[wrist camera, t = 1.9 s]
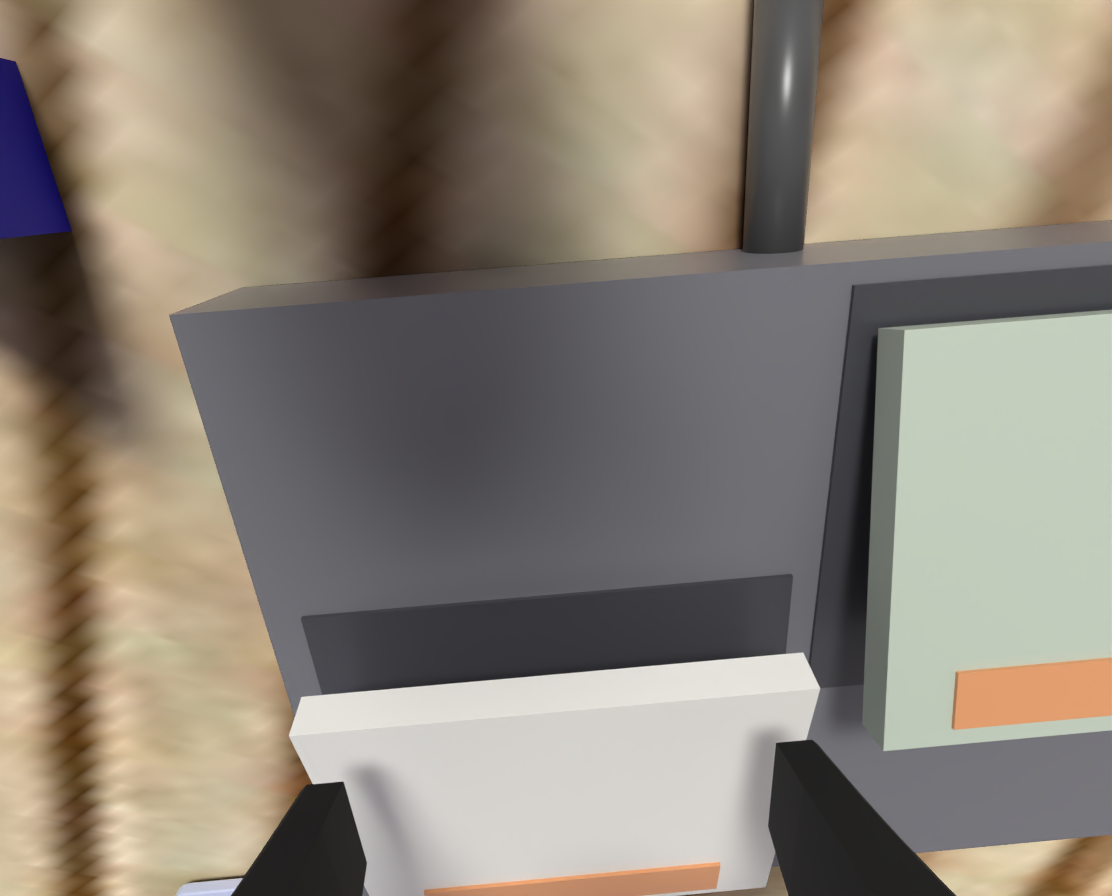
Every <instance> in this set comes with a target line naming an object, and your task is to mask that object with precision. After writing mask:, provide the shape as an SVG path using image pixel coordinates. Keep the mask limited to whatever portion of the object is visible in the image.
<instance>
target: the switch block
mask: <svg viewBox="0 0 1112 896" xmlns="http://www.w3.org/2000/svg"><path fill="white" fill-rule="evenodd" d="M823 10H824V0H754V20H753V41H752V63H751V84H750V106H749V127H748V148H747V170H746V191H745V213H744V234H743V249H734V250H721V251H708V252H695V253H682V254H669V255H657V256H644V257H631V258H618V259H605V260H592V261H579V262H566V263H553V264H540V265H528V266H515V267H502V268H489V269H476V270H463V271H450V272H437V273H424V274H411V275H399V276H386V277H373V278H360V279H347V280H334V281H321V282H308V283H295V284H282V285H270V286H257V287H244V288H240V289H237V290H234V291H232V292H229V293H226V294H224V295H221V296H218V297H216V298H213V299H210V300H208V301H205V302H202V303H200V304H197V305H194V306H192V307H189V308H186V309H184V310H181V311H178V312H176V313H173V314H170V315H169V317H170V320H171V323H172V326H173V329H174V333H175V336H176V339H177V342H178V345H179V349H180V352H181V355H182V358H183V361H184V365H185V368H186V371H187V374H188V377H189V381H190V384H191V387H192V390H193V393H194V397H195V400H196V403H197V406H198V409H199V413H200V416H201V419H202V422H203V425H204V429H205V432H206V435H207V438H208V441H209V445H210V448H211V451H212V454H213V457H214V461H215V464H216V467H217V470H218V473H219V477H220V480H221V483H222V486H223V489H224V493H225V496H226V499H227V502H228V505H229V509H230V512H231V515H232V518H233V521H234V525H235V528H236V531H237V534H238V537H239V541H240V544H241V547H242V550H243V553H244V557H245V560H246V563H247V566H248V569H249V573H250V576H251V579H252V582H253V585H254V589H255V592H256V595H257V598H258V601H259V605H260V608H261V611H262V614H263V617H264V621H265V624H266V627H267V630H268V633H269V637H270V640H271V643H272V646H273V649H274V653H275V656H276V659H277V662H278V665H279V669H280V672H281V675H282V678H283V681H284V685H285V688H286V691H287V694H288V697H289V701H290V704H291V707H292V710H293V713H294V717H295V715H296V712H297V709H298V706H299V703H300V700H301V697H306V696H317V695H329V694H340V693H351V692H362V691H374V690H385V689H396V688H407V687H419V686H430V685H441V684H453V683H464V682H475V681H486V680H498V679H509V678H520V677H532V676H543V675H554V674H565V673H577V672H588V671H599V670H611V669H622V668H633V667H644V666H656V665H667V664H678V663H690V662H701V661H712V660H723V659H735V658H746V657H757V656H768V655H780V654H791V653H802V652H803V653H804V655H805V657H806V659H807V662H808V664H809V666H810V668H811V670H812V672H813V674H814V676H815V678H816V680H817V683H818V685H819V687H820V692H819V695H818V699H817V702H816V706H815V710H814V713H813V717H812V721H811V724H810V728H809V732H808V735H807V739H806V740H813V741H815V742H816V743H817V744H818V745H819V746H820V747H821V748H822V750H823V751H824V752H825V753H826V754H827V755H828V757H829V758H830V759H831V760H832V761H833V762H834V764H835V765H836V766H837V767H838V768H839V769H840V771H841V772H842V773H843V774H844V775H845V776H846V778H847V779H848V780H849V781H850V782H851V783H852V784H853V786H854V787H855V788H856V789H857V790H858V791H859V792H860V794H861V795H862V796H863V797H864V798H865V799H866V800H867V801H868V803H869V804H870V805H871V806H872V807H873V808H874V809H875V810H876V812H877V813H878V814H879V815H880V816H881V817H882V818H883V819H884V820H885V822H886V823H887V824H888V825H889V826H890V827H891V828H892V829H893V830H894V831H895V832H896V834H897V835H898V836H899V837H900V838H901V839H902V840H903V841H904V842H905V843H906V844H907V845H908V846H909V847H910V848H911V849H912V851H913V852H914V853H922V852H933V851H943V850H954V849H965V848H975V847H986V846H996V845H1007V844H1017V843H1028V842H1039V841H1049V840H1060V839H1070V838H1081V837H1092V836H1102V835H1112V730H1110V731H1099V732H1088V733H1077V734H1066V735H1055V736H1044V737H1033V738H1022V739H1011V740H1000V741H989V742H978V743H967V744H957V745H946V746H935V747H924V748H913V749H902V750H891V751H883V750H882V749H881V747H880V746H879V745H878V744H877V742H876V741H875V740H874V738H873V737H872V736H871V735H870V733H869V732H868V731H867V729H866V728H865V727H864V726H863V724H862V716H863V692H864V667H865V643H866V618H867V594H868V569H869V545H870V520H871V495H872V471H873V446H874V422H875V397H876V373H877V348H878V328H888V327H900V326H913V325H925V324H938V323H950V322H963V321H975V320H988V319H1000V318H1013V317H1025V316H1038V315H1050V314H1063V313H1075V312H1088V311H1100V310H1112V220H1108V221H1095V222H1082V223H1069V224H1056V225H1044V226H1031V227H1018V228H1005V229H992V230H979V231H966V232H953V233H940V234H927V235H915V236H902V237H889V238H876V239H863V240H850V241H837V242H824V243H811V244H804V238H805V226H806V214H807V202H808V190H809V178H810V166H811V154H812V142H813V130H814V118H815V106H816V94H817V82H818V70H819V58H820V46H821V34H822V22H823ZM774 866H779V862H778V859H777V855H776V852H775V855H774V859H773V862H772V866H771V867H774ZM362 896H369V894H368V892H367V890H366V888H365V886H364V888H363V895H362Z"/></svg>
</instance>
